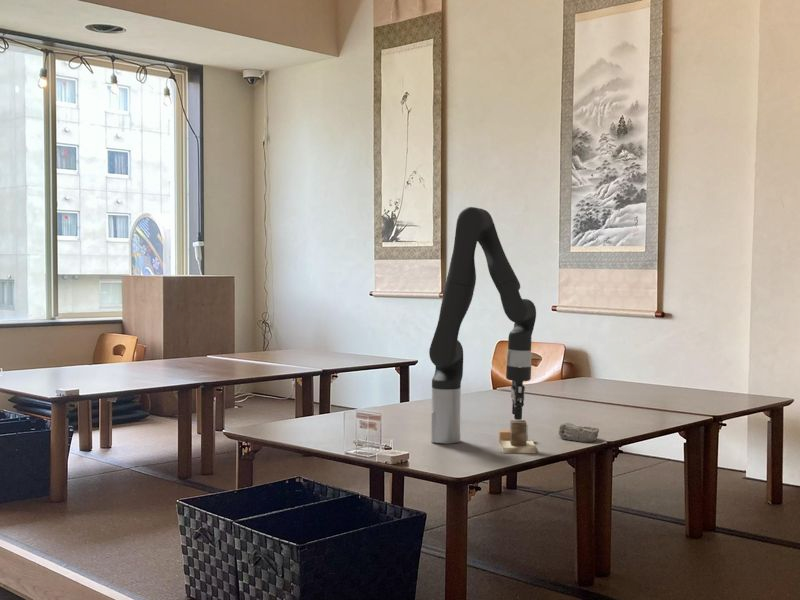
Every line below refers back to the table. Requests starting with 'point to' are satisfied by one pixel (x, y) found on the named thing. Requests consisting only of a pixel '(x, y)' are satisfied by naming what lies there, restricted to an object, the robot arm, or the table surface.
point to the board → (518, 447)
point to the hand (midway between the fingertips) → (516, 416)
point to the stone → (578, 432)
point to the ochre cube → (504, 435)
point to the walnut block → (518, 432)
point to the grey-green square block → (527, 434)
